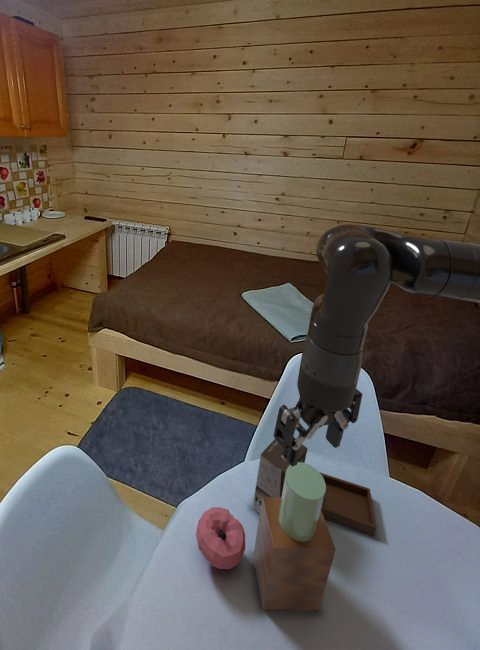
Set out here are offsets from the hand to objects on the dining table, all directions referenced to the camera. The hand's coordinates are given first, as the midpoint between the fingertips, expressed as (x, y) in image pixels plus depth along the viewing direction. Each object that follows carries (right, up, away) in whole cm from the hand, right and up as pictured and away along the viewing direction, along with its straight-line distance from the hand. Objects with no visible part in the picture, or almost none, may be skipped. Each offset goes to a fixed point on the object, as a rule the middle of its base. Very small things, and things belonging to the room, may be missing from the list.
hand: (311, 451), depth 53 cm
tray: (+17, -27, +24) cm, 40 cm away
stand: (-1, -31, +11) cm, 33 cm away
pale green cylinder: (0, -15, +5) cm, 16 cm away
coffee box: (+1, -27, +24) cm, 36 cm away
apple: (-13, -30, +15) cm, 36 cm away
